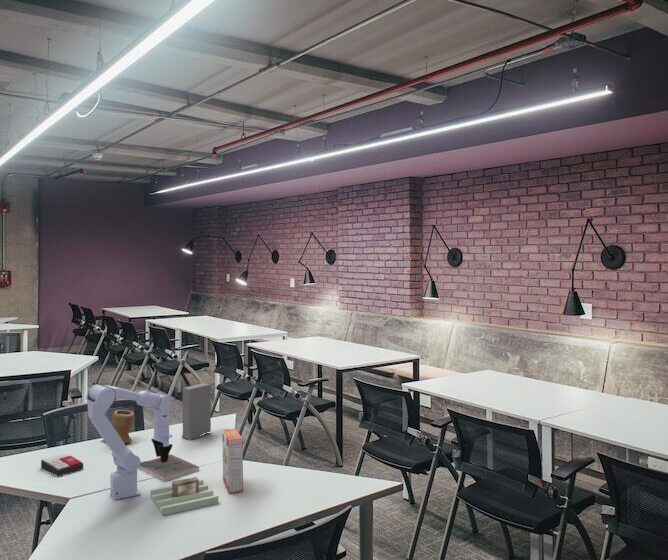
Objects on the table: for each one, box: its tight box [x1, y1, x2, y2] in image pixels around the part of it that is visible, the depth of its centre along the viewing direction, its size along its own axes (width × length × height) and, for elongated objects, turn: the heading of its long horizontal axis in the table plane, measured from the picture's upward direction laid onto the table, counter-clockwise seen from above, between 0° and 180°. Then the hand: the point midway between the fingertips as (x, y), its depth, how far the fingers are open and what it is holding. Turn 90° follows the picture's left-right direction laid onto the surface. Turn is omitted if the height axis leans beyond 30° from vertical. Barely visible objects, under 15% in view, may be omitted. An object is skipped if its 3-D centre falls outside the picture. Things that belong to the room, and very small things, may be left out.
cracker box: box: [221, 428, 244, 494], centre depth 226 cm, size 14×6×21 cm, turn 20°
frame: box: [171, 476, 200, 498], centre depth 214 cm, size 9×3×6 cm, turn 121°
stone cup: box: [100, 409, 135, 445], centre depth 279 cm, size 15×12×15 cm
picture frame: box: [137, 454, 200, 482], centre depth 244 cm, size 16×2×22 cm
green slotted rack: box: [149, 479, 219, 516], centre depth 214 cm, size 20×18×2 cm
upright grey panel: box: [181, 382, 212, 440], centre depth 288 cm, size 14×6×25 cm, turn 145°
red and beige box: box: [40, 452, 84, 477], centre depth 243 cm, size 11×4×15 cm
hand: (161, 459), depth 229 cm, fingers open, 7 cm apart
